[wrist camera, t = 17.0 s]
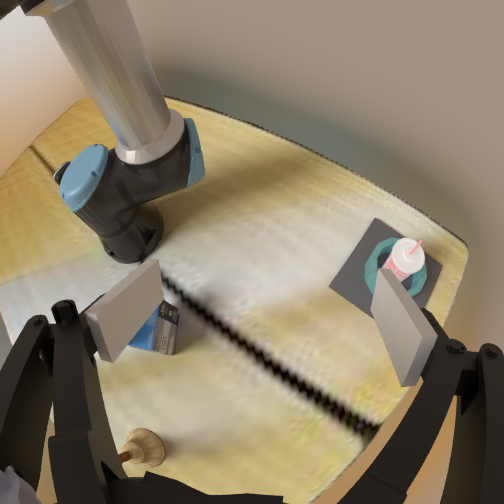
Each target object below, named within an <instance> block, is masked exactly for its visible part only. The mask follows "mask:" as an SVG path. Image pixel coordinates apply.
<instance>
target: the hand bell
mask: <svg viewBox="0 0 504 504" xmlns="http://www.w3.org/2000/svg"><path fill="white" fill-rule="evenodd" d="M118 456H119V459H120V462H121V464H122V463H123V462H126V461H129V462H130V463H133V464H141V465H143V466H147V467H155V466H158V465H159V464H161V463H162V461H163V460H164V457H165V448H164V445H163V443H162V441H161V440H160V439H159V437H158V436H157V435H155V434H154V433H153V432H151V431H149V430H146V429H135V430H133V431H131V432H130V433H129V435H128V437H127V440H126V443H125V444H124V445H123V447H122V453H121V454H119V455H118Z"/></svg>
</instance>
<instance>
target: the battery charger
mask: <svg viewBox="0 0 504 504" xmlns="http://www.w3.org/2000/svg"><path fill="white" fill-rule="evenodd" d="M70 163H71V162H70V161H66V162H65V163H63V164H62V165H61V167H60V168H59V169H58V170H57V171H56V172H55V174H54V180H55V182H56V183H57V184H58V185H59V186H60V183H61V180H62V177H63V175H64V173H65V171H66V169H67V167H68V166H69V165H70Z"/></svg>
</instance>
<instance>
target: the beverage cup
mask: <svg viewBox="0 0 504 504" xmlns="http://www.w3.org/2000/svg"><path fill="white" fill-rule="evenodd" d="M423 241H424V240H423V239H421V240H420V241H419V242H418V243H417V242H416V241H415V240H413V239H410V238H402V239H400V240H398V241H397V242H396V243H395V245H394V246H393V249H392V252H391V254H390V255H389V257H388V259H387V260H386V262H385V263H384V265H383V266H382V269H391V271H392V272H393V273H394V274H395V276H396V277H397V278H398V280H399V281H400V282H401V281H403V280H404V279H406V278H407V277H408V276H410V275H411V274H414V273H415V272H417V271H419V270H420V269H421V268H422V266H423V265H424V261H425V255H424V251H423V249H422V247H421V246H420V244H421V243H422V242H423Z"/></svg>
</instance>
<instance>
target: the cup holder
mask: <svg viewBox="0 0 504 504" xmlns="http://www.w3.org/2000/svg"><path fill="white" fill-rule="evenodd" d="M402 238H404V237H403V236H401V235H400V234H399V233H397V232H396V231H394V230H393V229H391V228H390V227H388V226H387V225H385V224H384V223H382V222H381V221H379V220H378V219H376V218H374V220H373V221H372V223H371V225H370V226H369V228H368V229H367V231H366V232H365V234H364V236H363V237H362V239H361V240H360V242H359V243H358V245H357V246H356V248H355V249H354V251H353V252H352V254H351V255H350V257H349V258H348V259H347V261H346V262H345V264H344V265H343V267H342V268H341V270H340V271H339V272H338V274H337V275H336V277H335V278H334V279H333V281H332V282H331V284H330V285H329V287H330V288H331V289H333V290H334V291H335V292H337V293H338V294H340V295H341V296H342V297H344V298H345V299H347V300H348V301H349V302H351V303H352V304H354V305H355V306H356V307H358V308H359V309H361V310H362V311H363V312H365V313H366V314H368V315H369V316H370V317H372V318H373V319H374V317H373V314H372V312H371V310H370V309H371V305H372V300H373V295H374V290H375V285H376V279H377V273H378V268H382V266H383V265H384V263H385V262H386V260H387V259H388V257H389V255H390V254H391V252H392V249H393V246H394V245H395V243H396V242H397V241H398V240H400V239H402ZM424 255H425V261H424V265H423V266H422V268H421V269H420V270H419V271H417V272H415V273H414V274H411V275H410V276H408V277H407V278H406V279H404V280H403V281H401V284H402V285H403V286H404V288H405V289H406V290H407V292H408V293H409V295H410V296H411V297H412V299H413V300H414V301H415V303H416V304H417V306H418V307H419V308H424V306H425V304H426V302H427V300H428V297H429V295H430V293H431V291H432V289H433V286H434V284H435V282H436V279H437V277H438V275H439V272H440V270H441V267H442V265H441V264H440V263H438V262H437V261H436V260H434V259H433V258H432V257H430V256H429V255H428V254H426V253H425V252H424Z"/></svg>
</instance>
